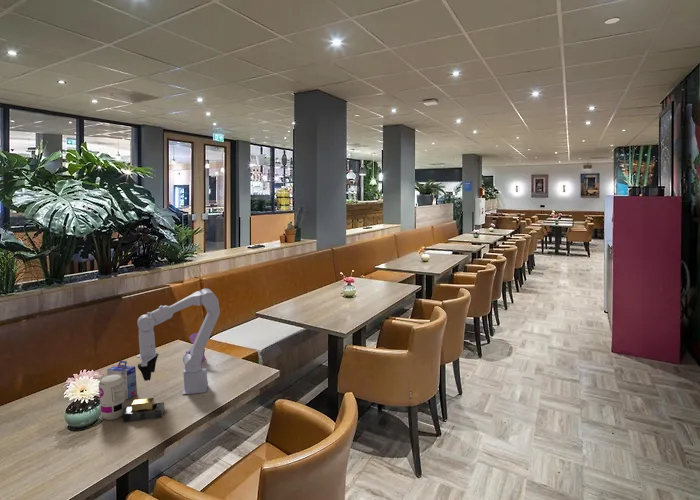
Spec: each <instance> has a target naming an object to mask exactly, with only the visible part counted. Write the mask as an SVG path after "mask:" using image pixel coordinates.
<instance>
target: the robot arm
mask: <svg viewBox="0 0 700 500" xmlns="http://www.w3.org/2000/svg"><path fill="white" fill-rule="evenodd" d="M219 301H220V300H219V299H218V297H217V295H216V294H215V293H214V292H213V291H212V289H210V288H205V287H204V288H202V289H200V290H197V291H194V292H193V293H191V294H190V295H188V296H186V297H184V298H183V299H181V300H178V301H176V302H175V303H172V304H171V305H166V304H165V305H161V304H160V306H158V308H157V309H154V310H153V311H151V312H150V311H148V312H146V314H142V315H140V316H139V317H138V318H137V322H136V323H137V328H138V345H139V346H138V347H139V354H137V356H136V358H137V359H139V360H140V363H138V364H137V369H139V371H140V373H141V374H142V378H143V381H145V382H148V381H150V380H151V378H152V373H155V371H156V364H157V360H158V357H159V355H160V354H159V353H157V352H156V338H155V331H154V327H155V326H158V325H159V324H162V323H163V322H166V321H168V320H171V318H172V317H173V315H174V314H175V313H177V312H179V311H182V310H184V309H186V308H188V307H191V306H198V307H200V306H201V305H202V306H203V307H204V308H205V310H206V312H207V313H206V315H205V317H204V319H203V322H202V324H201V325H200V328H199V330H198V332H197V333H198V335H197V337H196V339H195V341H194V344H193V343H192V345H191V346H190V348H189V349H188V350H189V351H188V350H187V351H188V352H187V353H186V352H185V354H184V355H183V358H182V362H183V364H184V368H183V370H182V372H183V373H182V374H183V391H182V392H181V393H182V395H183V396H184V395H192V394H201V393H203V394H204V393H206V392H207V390H208V385H209V381H208V372H207V371H208V370H207V368H202V361H203V360H202V357H203V351H204V348H206V346H207V343H208V342H209V339H210V337H211V335H212V332H213V330H214V328H215V326H216V324H217V321H218V320H219V318H220V317H219V316H220V315H221V309H220V304H219Z"/></svg>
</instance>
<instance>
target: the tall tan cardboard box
mask: <svg viewBox="0 0 700 500" xmlns="http://www.w3.org/2000/svg"><path fill="white" fill-rule="evenodd" d="M154 403H155V397H150V398H149V397H148V398H140V399H134V400H133V401H132V402H131V406H132V412H133V413H134V412H140V410H143V409H147V411H151V410H155V408H154Z"/></svg>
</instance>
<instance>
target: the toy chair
mask: <svg viewBox="0 0 700 500" xmlns="http://www.w3.org/2000/svg"><path fill="white" fill-rule="evenodd" d="M197 335H198V332H195V333H192V334H190V335H189V337H188V338H189V341H190V343H191V344H192V345H193V344H194V341H195V339H196V337H197ZM205 348H206V347H205ZM205 348H204V351H203V357H202V360H201V361H205V360H207V358H206V357H205V353H206V352H205V351H206V349H205ZM188 351H189V349H187V350H186V351H185V354H186V353H187V352H188Z"/></svg>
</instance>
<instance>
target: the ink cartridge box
mask: <svg viewBox="0 0 700 500" xmlns="http://www.w3.org/2000/svg"><path fill="white" fill-rule="evenodd" d="M106 373H107V375H111V374H120V375H121V376H122V377H123V379H124V390H125V400H129V399H131V398H132V397H134V396H136V395H137V394H138V388H137V371H136V366H135V365H134V366H131V365H128V361H124V360H119V362H118V364H115V365H113V366H111V367H110V368H107V369H106ZM107 375H106V376H107Z"/></svg>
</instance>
